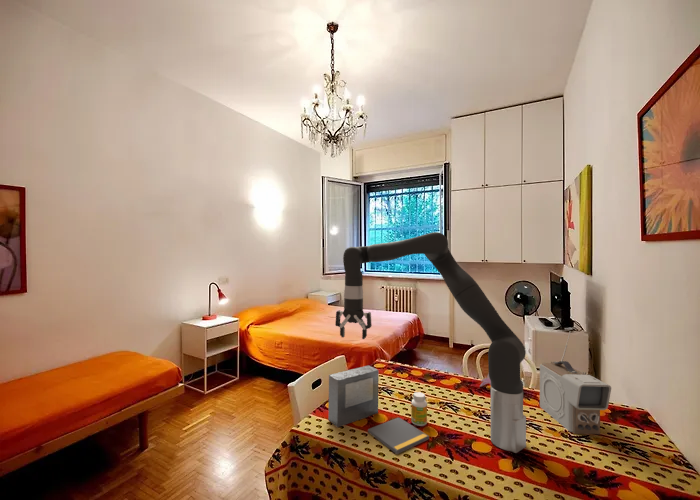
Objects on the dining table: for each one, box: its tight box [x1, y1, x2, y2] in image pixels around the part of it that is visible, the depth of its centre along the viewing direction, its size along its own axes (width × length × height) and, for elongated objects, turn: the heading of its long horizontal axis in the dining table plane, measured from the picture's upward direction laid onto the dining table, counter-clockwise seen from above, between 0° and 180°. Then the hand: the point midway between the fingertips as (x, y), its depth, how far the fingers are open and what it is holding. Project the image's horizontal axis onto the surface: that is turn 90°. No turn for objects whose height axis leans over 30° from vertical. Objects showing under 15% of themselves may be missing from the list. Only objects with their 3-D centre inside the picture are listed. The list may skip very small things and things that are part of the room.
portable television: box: [539, 331, 612, 435], centre depth 114 cm, size 12×24×30 cm, turn 178°
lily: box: [479, 372, 491, 387], centre depth 139 cm, size 12×12×10 cm
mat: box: [367, 417, 430, 455], centre depth 104 cm, size 14×14×1 cm
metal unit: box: [327, 364, 379, 428], centre depth 116 cm, size 7×18×16 cm, turn 124°
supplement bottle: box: [410, 391, 428, 427], centre depth 112 cm, size 5×5×10 cm
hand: (353, 337), depth 125 cm, fingers open, 8 cm apart
